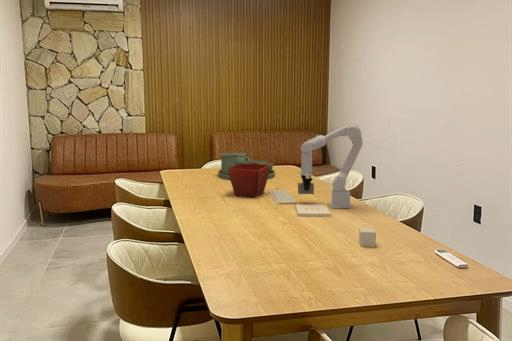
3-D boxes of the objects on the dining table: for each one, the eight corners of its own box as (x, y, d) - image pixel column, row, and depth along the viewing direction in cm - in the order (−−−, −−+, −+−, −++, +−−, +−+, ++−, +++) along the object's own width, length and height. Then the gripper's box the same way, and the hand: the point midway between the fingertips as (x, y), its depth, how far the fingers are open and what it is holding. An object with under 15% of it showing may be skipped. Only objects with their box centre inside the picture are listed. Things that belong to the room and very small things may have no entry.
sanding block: (312, 192, 265) (312, 183, 264) (313, 194, 260) (313, 184, 259) (297, 192, 265) (298, 183, 264) (298, 194, 260) (298, 184, 259)
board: (325, 207, 258) (325, 204, 258) (330, 216, 240) (330, 213, 240) (295, 207, 258) (295, 204, 258) (298, 216, 240) (298, 213, 240)
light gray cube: (358, 241, 203) (359, 227, 202) (373, 242, 202) (374, 228, 201) (360, 246, 197) (360, 232, 196) (375, 246, 196) (376, 232, 195)
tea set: (255, 184, 318) (255, 159, 315) (206, 177, 339) (206, 154, 336) (285, 174, 351) (285, 151, 348) (239, 169, 372) (239, 147, 369)
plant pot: (227, 196, 282) (227, 167, 279) (240, 190, 299) (240, 162, 296) (258, 199, 274) (258, 170, 271) (270, 192, 292) (270, 164, 289)
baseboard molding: (274, 205, 264) (296, 205, 265) (274, 200, 263) (296, 200, 265) (266, 192, 294) (286, 192, 295) (266, 188, 294) (286, 187, 295)
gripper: (298, 162, 267) (297, 186, 269) (300, 166, 253) (299, 192, 255) (311, 162, 267) (310, 186, 269) (313, 166, 253) (313, 192, 255)
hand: (306, 189), depth 262 cm, fingers closed on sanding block, 5 cm apart
